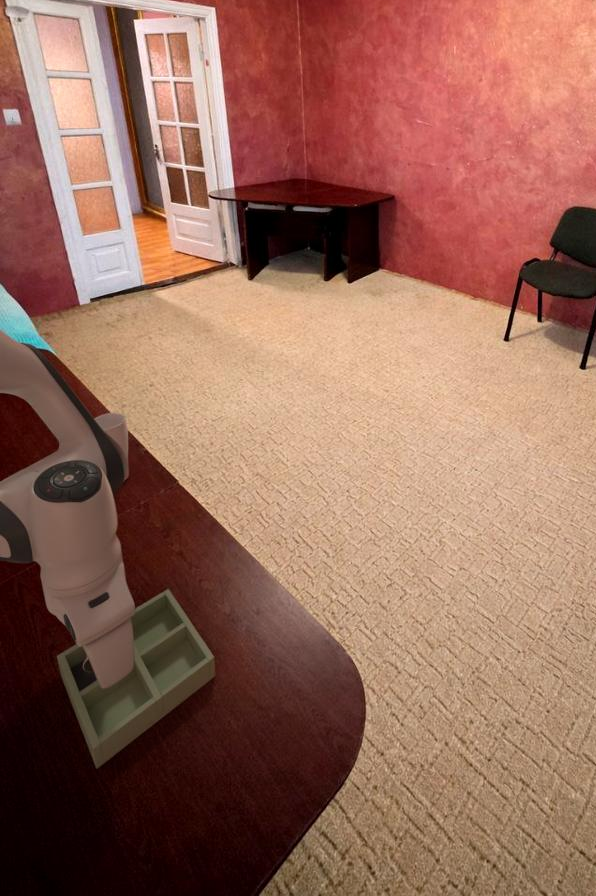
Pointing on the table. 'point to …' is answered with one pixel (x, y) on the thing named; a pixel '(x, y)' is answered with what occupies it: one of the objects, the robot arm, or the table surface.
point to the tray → (139, 678)
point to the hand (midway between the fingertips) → (97, 653)
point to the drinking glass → (116, 430)
